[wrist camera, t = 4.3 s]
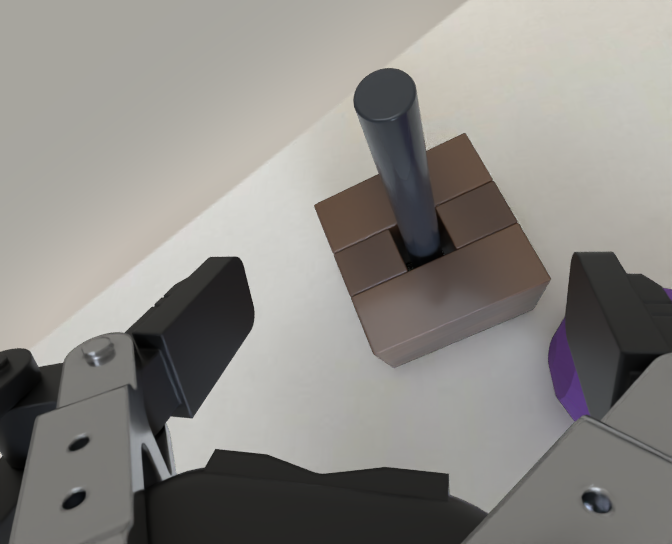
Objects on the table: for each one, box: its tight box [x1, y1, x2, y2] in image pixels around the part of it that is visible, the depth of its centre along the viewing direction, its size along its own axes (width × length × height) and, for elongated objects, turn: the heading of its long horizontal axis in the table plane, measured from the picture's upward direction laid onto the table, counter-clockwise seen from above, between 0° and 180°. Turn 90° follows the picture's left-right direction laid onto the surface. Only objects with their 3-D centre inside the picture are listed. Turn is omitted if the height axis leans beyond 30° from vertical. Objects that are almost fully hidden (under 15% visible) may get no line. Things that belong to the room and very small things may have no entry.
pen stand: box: [314, 133, 551, 368], centre depth 21 cm, size 7×7×5 cm
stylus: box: [353, 68, 443, 269], centre depth 17 cm, size 1×1×14 cm
